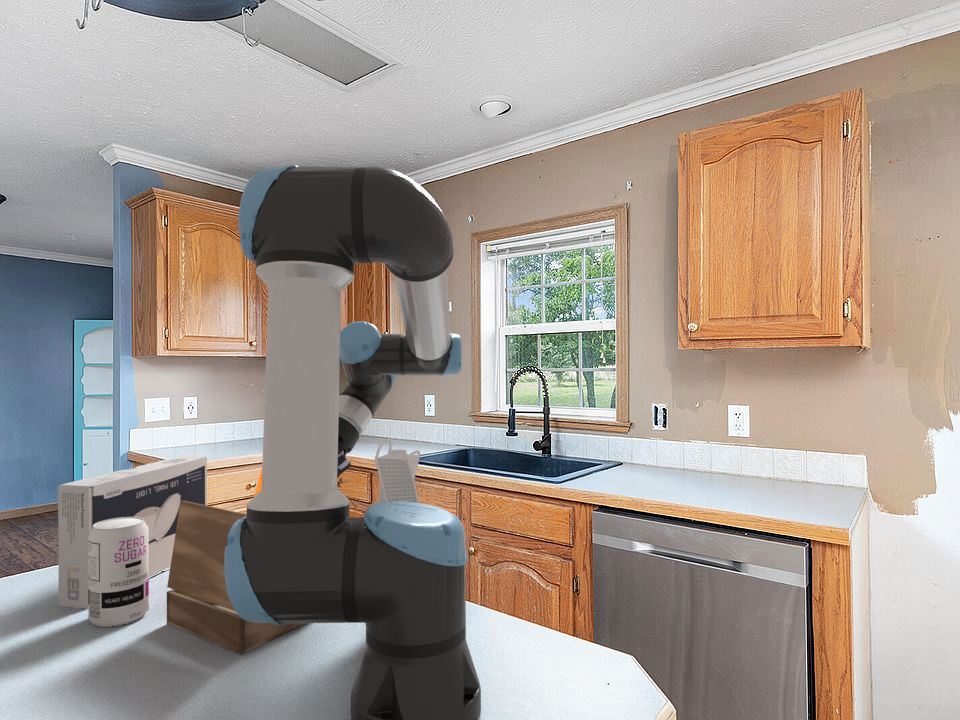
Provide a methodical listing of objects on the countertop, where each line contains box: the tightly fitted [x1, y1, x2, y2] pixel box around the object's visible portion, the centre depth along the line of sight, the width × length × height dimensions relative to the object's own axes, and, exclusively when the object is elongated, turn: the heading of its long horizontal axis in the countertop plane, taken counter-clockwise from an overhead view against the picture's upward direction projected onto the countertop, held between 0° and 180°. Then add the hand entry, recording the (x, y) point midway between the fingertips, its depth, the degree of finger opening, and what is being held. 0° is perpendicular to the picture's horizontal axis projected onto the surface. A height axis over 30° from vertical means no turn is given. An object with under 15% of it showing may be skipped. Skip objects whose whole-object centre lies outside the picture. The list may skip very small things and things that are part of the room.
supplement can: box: [87, 517, 150, 628], centre depth 96 cm, size 8×8×15 cm
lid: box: [166, 501, 247, 611], centre depth 90 cm, size 1×17×13 cm, turn 57°
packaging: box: [57, 455, 208, 609], centre depth 115 cm, size 30×6×20 cm, turn 168°
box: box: [166, 589, 307, 655], centre depth 95 cm, size 14×18×5 cm
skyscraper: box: [374, 437, 421, 503], centre depth 95 cm, size 8×8×28 cm
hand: (268, 538), depth 99 cm, fingers closed
